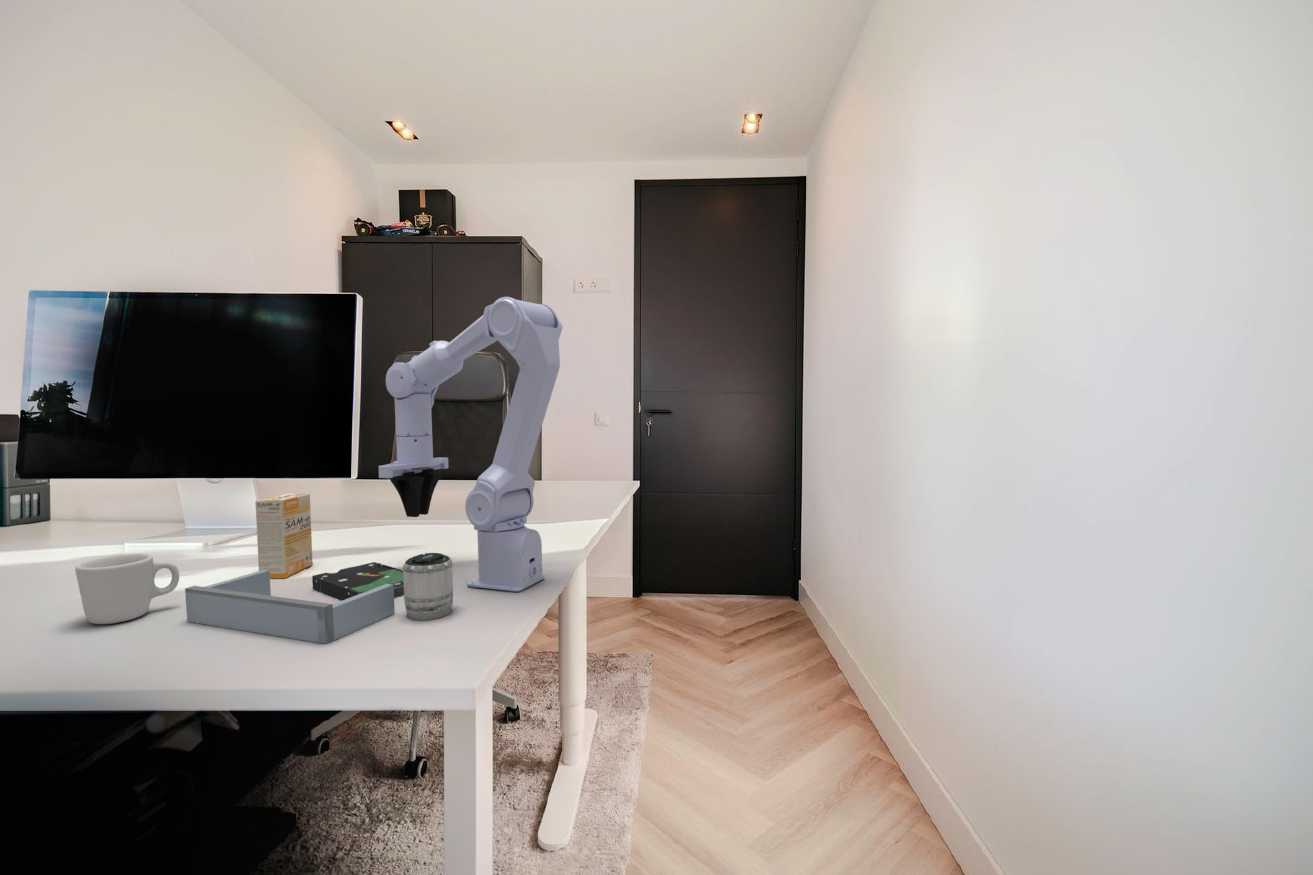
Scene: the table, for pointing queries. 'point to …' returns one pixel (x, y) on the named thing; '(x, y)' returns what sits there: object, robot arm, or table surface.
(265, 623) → the frame
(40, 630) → the table surface
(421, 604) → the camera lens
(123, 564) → the cup
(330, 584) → the disk drive
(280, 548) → the supplement box
